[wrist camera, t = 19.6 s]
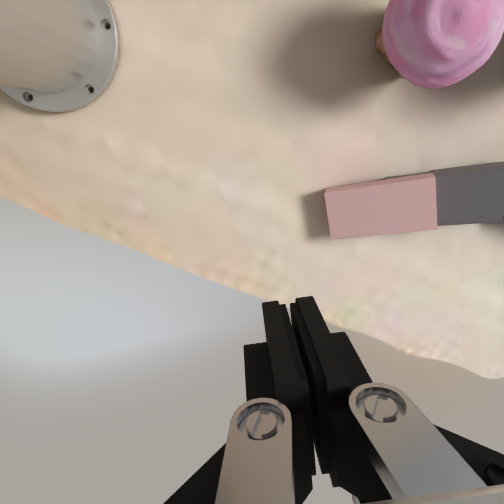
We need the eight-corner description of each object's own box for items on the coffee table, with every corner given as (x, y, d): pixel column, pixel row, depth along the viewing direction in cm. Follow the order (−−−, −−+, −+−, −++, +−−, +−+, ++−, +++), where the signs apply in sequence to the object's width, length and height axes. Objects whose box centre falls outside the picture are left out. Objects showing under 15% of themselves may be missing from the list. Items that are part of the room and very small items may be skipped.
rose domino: (331, 239, 37) (437, 229, 34) (324, 192, 36) (435, 176, 32) (332, 232, 39) (434, 222, 36) (326, 188, 38) (432, 172, 34)
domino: (388, 228, 37) (503, 221, 34) (386, 181, 36) (506, 168, 32) (389, 222, 39) (497, 215, 35) (386, 177, 37) (500, 164, 34)
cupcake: (338, 48, 33) (380, 18, 24) (406, -40, 31) (482, -110, 22) (403, 112, 35) (464, 108, 26) (470, 35, 33) (563, 0, 24)
